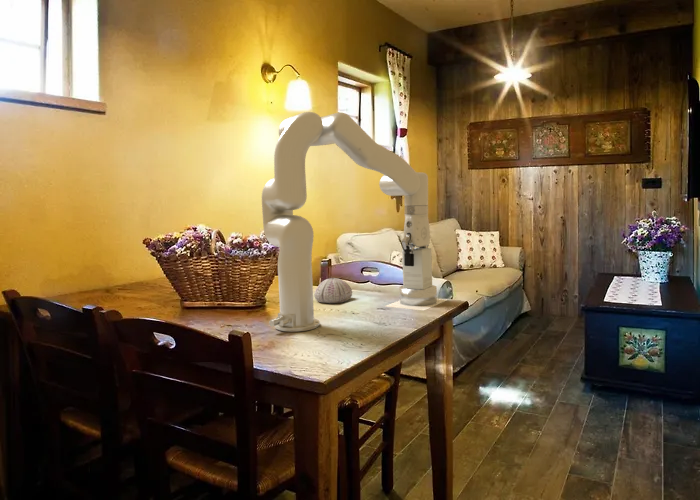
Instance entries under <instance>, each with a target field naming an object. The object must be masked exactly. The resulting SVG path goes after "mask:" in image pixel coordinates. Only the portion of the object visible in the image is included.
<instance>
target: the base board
mask: <svg viewBox="0 0 700 500" xmlns="http://www.w3.org/2000/svg"><path fill="white" fill-rule="evenodd" d="M446 301H448V298H447V299H444V298H437V303H436V304H434V305H429V306H407V305H403V304H400V299H399V300H398V301H397V300H396V301H395V302H392V303H390V304H386V305H384V307H387V308H396V309H403V310H405V309H406V310H412V311H413V310H415V311H426V310H428V309H431V308H433V307H436V306H438V305H439V304H440V305H441V304H443V303H444V302H446Z"/></svg>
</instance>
